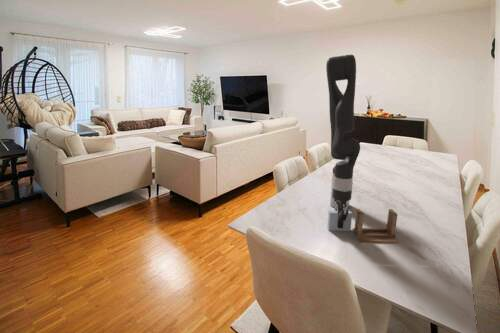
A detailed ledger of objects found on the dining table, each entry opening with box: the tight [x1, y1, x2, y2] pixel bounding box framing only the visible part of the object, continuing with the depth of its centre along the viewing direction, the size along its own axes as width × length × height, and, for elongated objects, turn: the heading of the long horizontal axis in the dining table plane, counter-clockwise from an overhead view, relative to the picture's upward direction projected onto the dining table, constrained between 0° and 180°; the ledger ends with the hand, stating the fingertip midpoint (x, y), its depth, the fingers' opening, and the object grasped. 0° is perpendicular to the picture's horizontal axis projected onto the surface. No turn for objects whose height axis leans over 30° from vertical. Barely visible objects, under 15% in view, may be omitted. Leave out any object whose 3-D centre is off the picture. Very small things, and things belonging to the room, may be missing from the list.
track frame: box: [351, 208, 399, 244], centre depth 116 cm, size 10×14×11 cm
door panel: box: [327, 210, 353, 232], centre depth 122 cm, size 2×9×8 cm, turn 87°
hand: (339, 226), depth 123 cm, fingers closed on door panel, 2 cm apart
